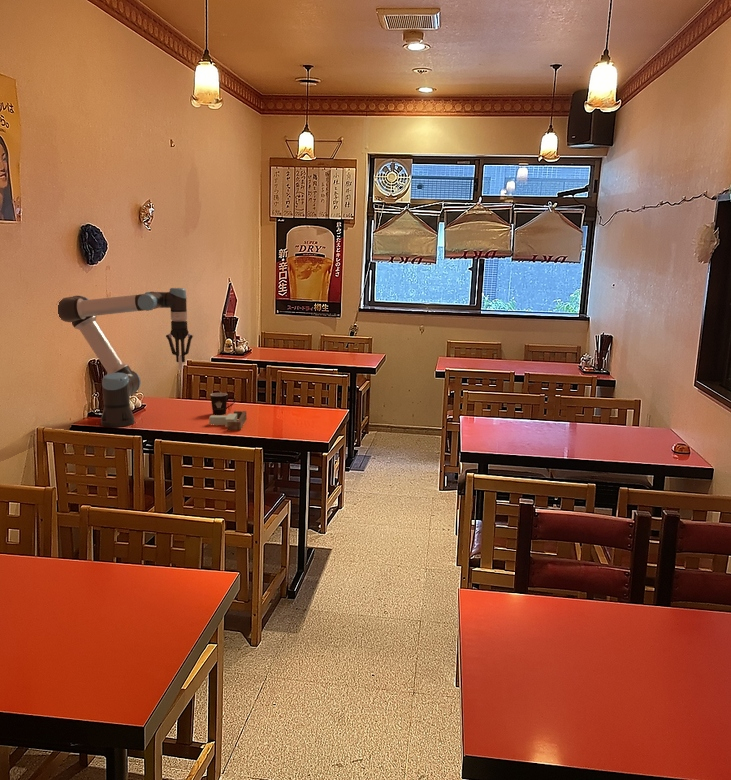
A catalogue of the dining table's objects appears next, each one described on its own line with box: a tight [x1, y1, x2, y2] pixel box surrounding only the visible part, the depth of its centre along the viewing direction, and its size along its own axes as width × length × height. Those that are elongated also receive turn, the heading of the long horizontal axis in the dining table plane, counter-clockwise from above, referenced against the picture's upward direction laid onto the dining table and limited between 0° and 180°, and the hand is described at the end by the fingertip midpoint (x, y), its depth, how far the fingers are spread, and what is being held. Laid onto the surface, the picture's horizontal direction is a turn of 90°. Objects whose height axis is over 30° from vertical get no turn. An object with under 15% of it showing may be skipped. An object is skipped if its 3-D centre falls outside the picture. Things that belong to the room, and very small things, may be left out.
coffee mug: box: [209, 392, 236, 415], centre depth 352 cm, size 12×9×10 cm
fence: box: [227, 410, 248, 431], centre depth 331 cm, size 6×22×4 cm, turn 3°
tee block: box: [208, 413, 238, 427], centre depth 331 cm, size 12×12×4 cm
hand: (180, 368), depth 339 cm, fingers closed
